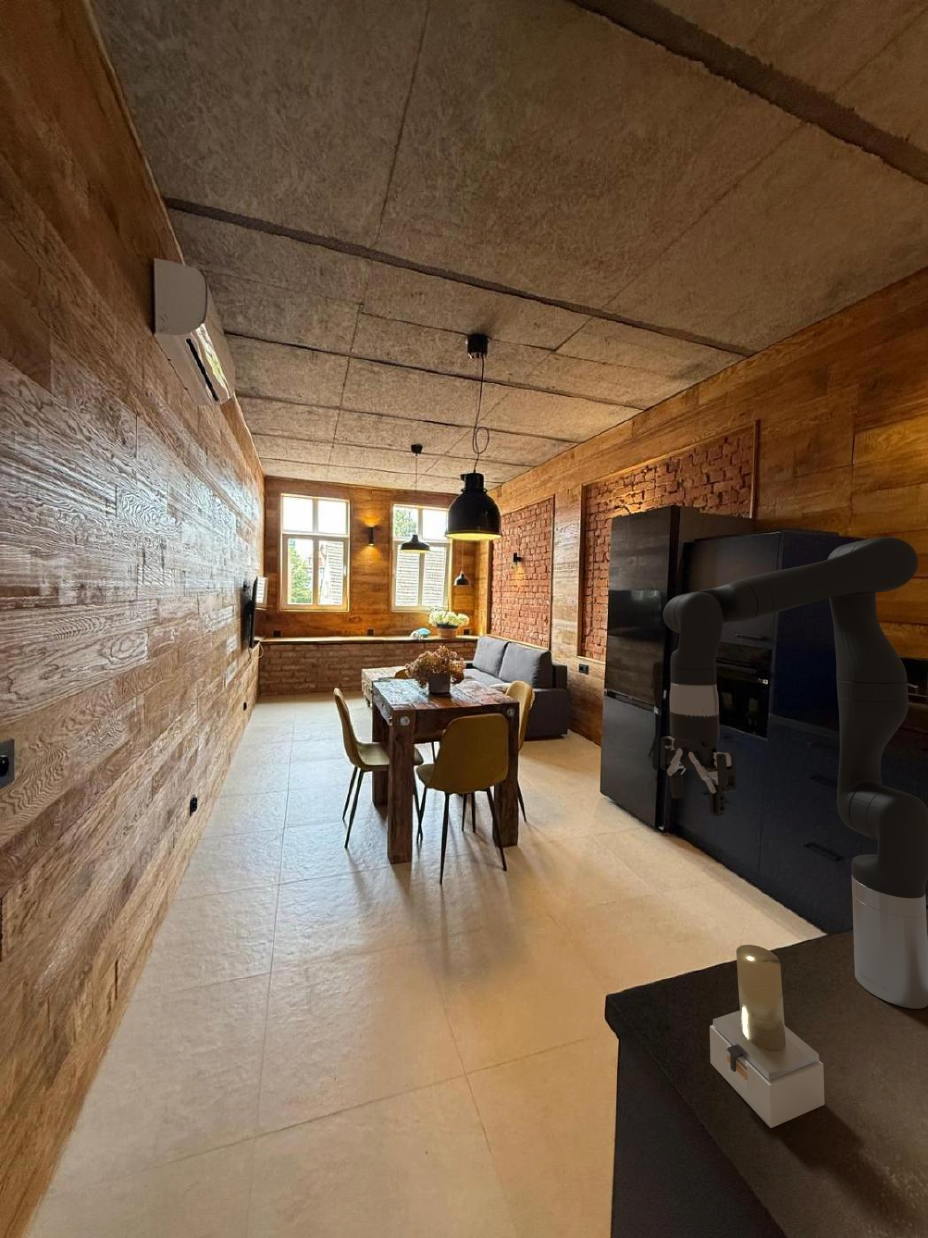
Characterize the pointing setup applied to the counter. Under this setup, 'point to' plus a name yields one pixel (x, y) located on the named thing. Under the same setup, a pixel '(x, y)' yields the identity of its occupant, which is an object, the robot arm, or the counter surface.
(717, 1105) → the counter surface
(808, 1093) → the white latched box
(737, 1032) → the box lid
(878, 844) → the robot arm
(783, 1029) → the disc
